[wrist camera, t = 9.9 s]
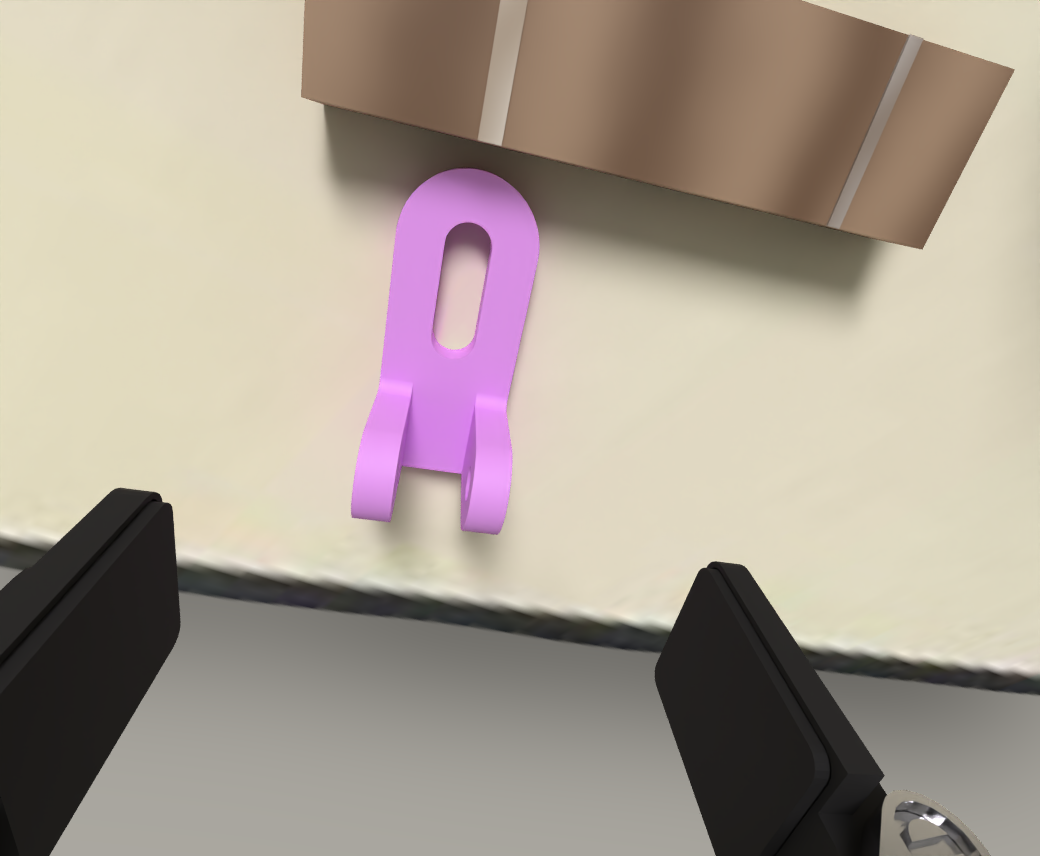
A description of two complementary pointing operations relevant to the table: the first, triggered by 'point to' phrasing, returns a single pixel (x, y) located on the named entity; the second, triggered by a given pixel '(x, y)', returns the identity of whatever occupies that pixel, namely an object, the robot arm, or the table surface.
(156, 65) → the table surface
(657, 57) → the walnut plank
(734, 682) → the robot arm
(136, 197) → the table surface
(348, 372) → the table surface
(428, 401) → the bracket
